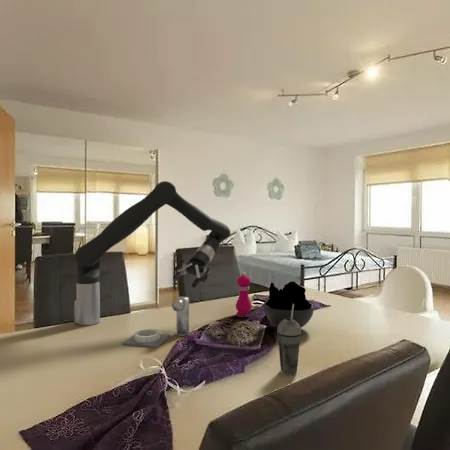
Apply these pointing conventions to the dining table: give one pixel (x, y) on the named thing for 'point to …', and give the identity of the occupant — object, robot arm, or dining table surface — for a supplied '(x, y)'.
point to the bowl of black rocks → (288, 304)
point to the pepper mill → (243, 295)
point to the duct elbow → (182, 315)
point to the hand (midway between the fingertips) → (183, 283)
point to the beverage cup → (289, 344)
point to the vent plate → (151, 344)
